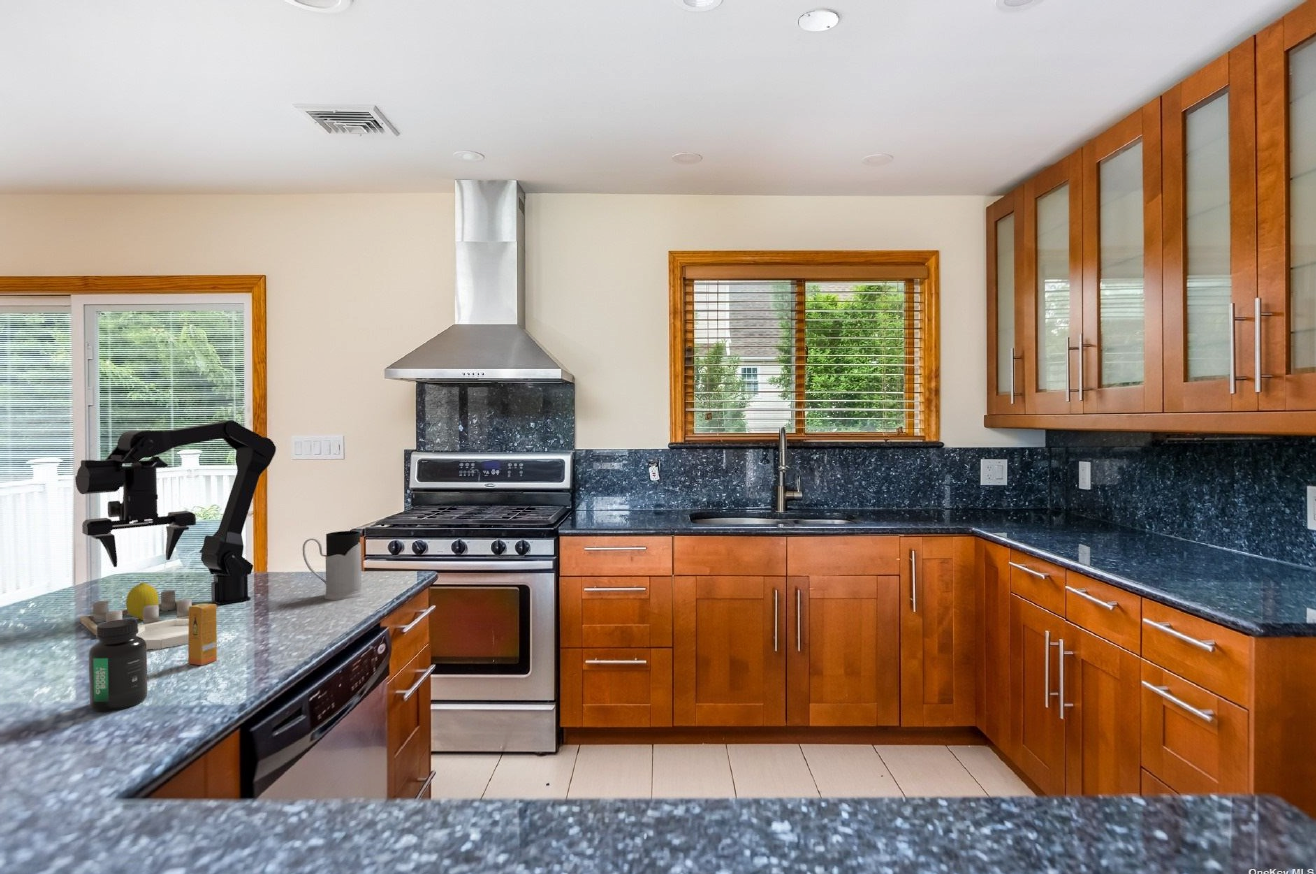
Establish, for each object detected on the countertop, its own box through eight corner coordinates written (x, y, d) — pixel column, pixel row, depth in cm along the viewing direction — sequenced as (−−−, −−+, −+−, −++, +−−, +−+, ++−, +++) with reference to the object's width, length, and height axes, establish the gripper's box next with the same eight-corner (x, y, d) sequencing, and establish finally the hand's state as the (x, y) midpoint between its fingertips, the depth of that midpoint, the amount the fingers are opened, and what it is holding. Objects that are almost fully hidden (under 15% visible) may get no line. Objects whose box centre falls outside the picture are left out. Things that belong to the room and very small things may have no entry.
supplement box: (219, 660, 123) (218, 603, 123) (201, 666, 120) (199, 608, 120) (205, 658, 124) (204, 601, 124) (186, 664, 121) (185, 606, 121)
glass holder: (353, 599, 165) (353, 536, 165) (294, 599, 165) (293, 536, 165) (369, 590, 174) (368, 530, 174) (312, 590, 174) (311, 530, 174)
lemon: (165, 616, 151) (164, 580, 151) (144, 624, 146) (143, 586, 145) (141, 616, 152) (141, 579, 151) (119, 623, 146) (118, 585, 146)
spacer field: (180, 604, 161) (179, 587, 161) (205, 618, 149) (204, 600, 149) (80, 621, 148) (79, 602, 148) (98, 638, 136) (98, 618, 136)
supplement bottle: (101, 716, 100) (99, 632, 99) (81, 706, 103) (79, 625, 103) (156, 700, 106) (154, 620, 105) (135, 691, 109) (133, 614, 109)
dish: (198, 623, 146) (198, 614, 146) (221, 636, 137) (221, 627, 137) (115, 639, 135) (115, 630, 135) (133, 654, 126) (133, 645, 126)
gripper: (180, 484, 160) (182, 552, 161) (75, 491, 146) (77, 565, 147) (195, 487, 153) (197, 558, 153) (87, 494, 139) (89, 572, 139)
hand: (142, 563), depth 148 cm, fingers open, 9 cm apart
